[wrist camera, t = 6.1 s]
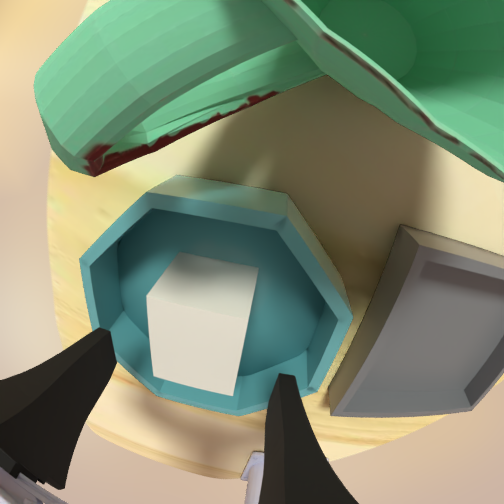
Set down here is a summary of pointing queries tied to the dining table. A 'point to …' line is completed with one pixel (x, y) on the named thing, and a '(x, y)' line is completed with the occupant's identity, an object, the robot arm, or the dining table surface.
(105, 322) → the bowl
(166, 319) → the off-white smooth cube
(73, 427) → the robot arm
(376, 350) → the parts tray
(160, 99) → the mug
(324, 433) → the dining table surface
